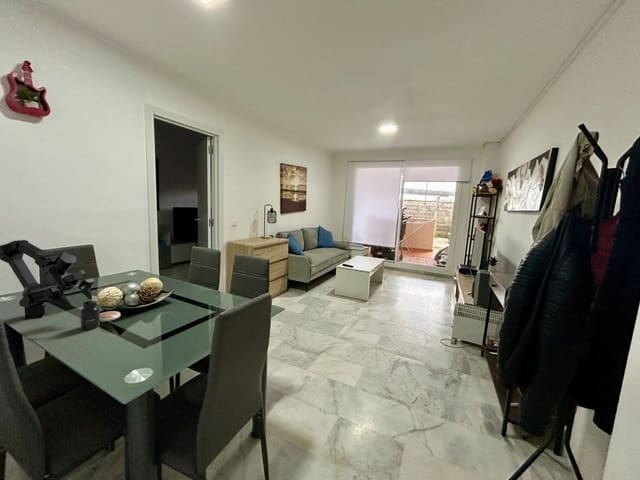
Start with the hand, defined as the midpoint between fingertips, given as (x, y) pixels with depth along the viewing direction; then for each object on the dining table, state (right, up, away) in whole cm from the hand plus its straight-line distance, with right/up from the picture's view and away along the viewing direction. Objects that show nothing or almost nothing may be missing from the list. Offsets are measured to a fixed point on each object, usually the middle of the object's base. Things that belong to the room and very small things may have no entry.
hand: (81, 302), depth 124 cm
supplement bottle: (+4, -12, +1) cm, 13 cm away
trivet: (+3, -10, +12) cm, 16 cm away
